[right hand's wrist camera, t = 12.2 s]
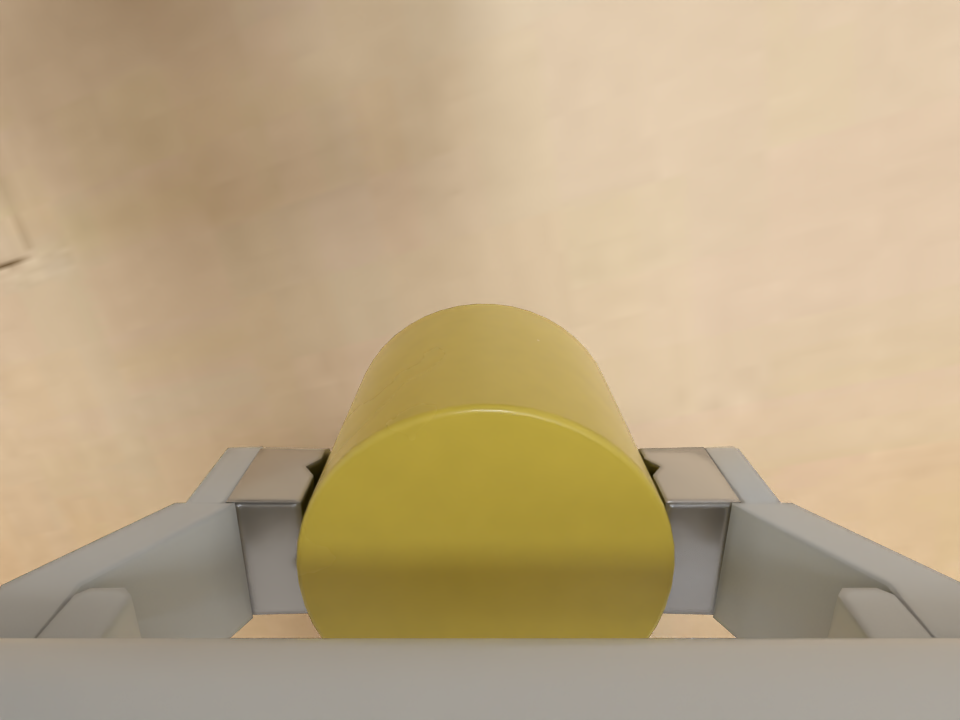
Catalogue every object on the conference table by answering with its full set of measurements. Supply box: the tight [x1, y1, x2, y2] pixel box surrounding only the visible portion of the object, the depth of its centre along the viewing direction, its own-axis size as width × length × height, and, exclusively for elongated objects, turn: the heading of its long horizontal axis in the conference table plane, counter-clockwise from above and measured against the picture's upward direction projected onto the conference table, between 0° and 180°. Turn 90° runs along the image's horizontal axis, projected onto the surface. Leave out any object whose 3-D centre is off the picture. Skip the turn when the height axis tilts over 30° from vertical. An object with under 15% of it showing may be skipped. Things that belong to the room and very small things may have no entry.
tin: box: [296, 304, 675, 638], centre depth 10 cm, size 5×5×4 cm
